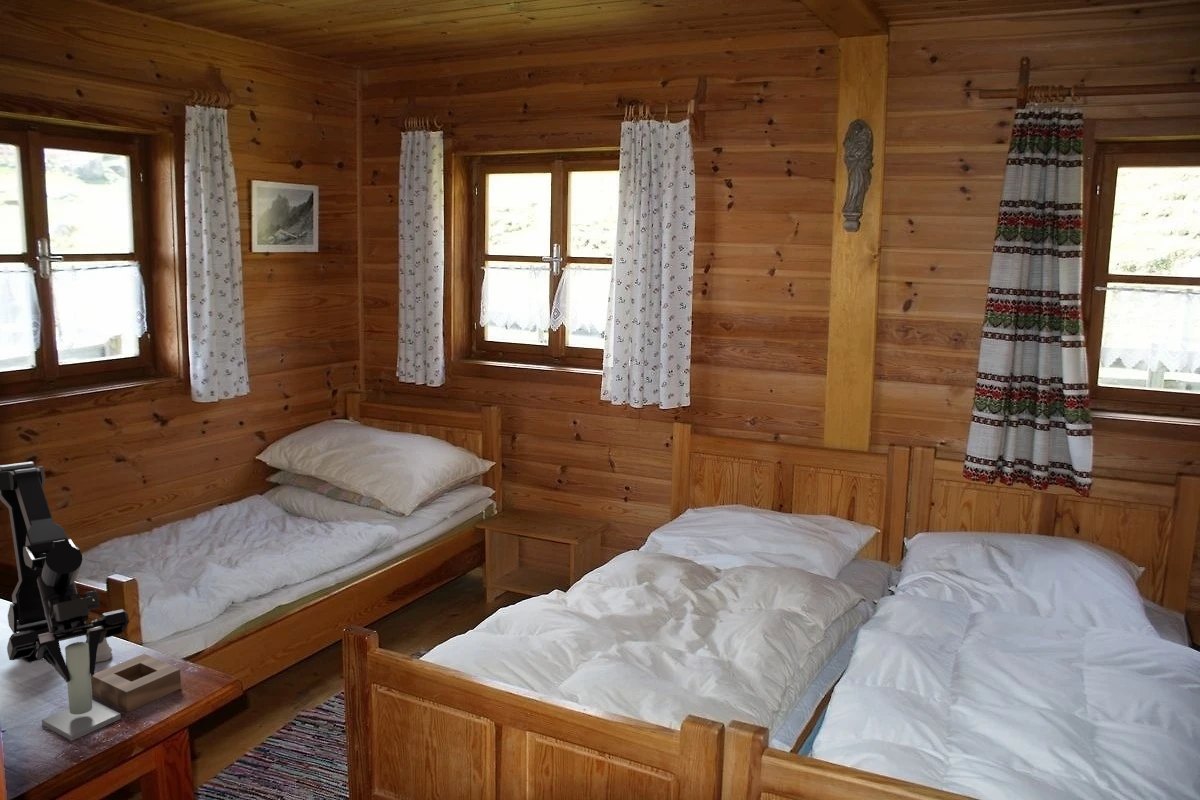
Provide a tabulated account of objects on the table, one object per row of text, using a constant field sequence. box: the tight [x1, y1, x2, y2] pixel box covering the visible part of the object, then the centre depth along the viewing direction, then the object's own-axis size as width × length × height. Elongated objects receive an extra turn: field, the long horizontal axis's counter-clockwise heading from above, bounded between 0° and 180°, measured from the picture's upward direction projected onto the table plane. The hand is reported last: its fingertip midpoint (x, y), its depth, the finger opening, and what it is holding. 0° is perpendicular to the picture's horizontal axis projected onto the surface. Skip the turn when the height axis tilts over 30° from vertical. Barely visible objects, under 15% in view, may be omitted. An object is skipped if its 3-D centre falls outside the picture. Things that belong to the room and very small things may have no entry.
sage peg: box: [64, 641, 93, 715], centre depth 170 cm, size 4×4×12 cm
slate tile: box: [41, 699, 122, 742], centre depth 171 cm, size 9×9×1 cm
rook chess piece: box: [90, 618, 113, 664], centre depth 194 cm, size 4×4×8 cm
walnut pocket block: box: [90, 653, 182, 713], centre depth 182 cm, size 11×11×4 cm
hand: (80, 678), depth 169 cm, fingers closed on sage peg, 3 cm apart
